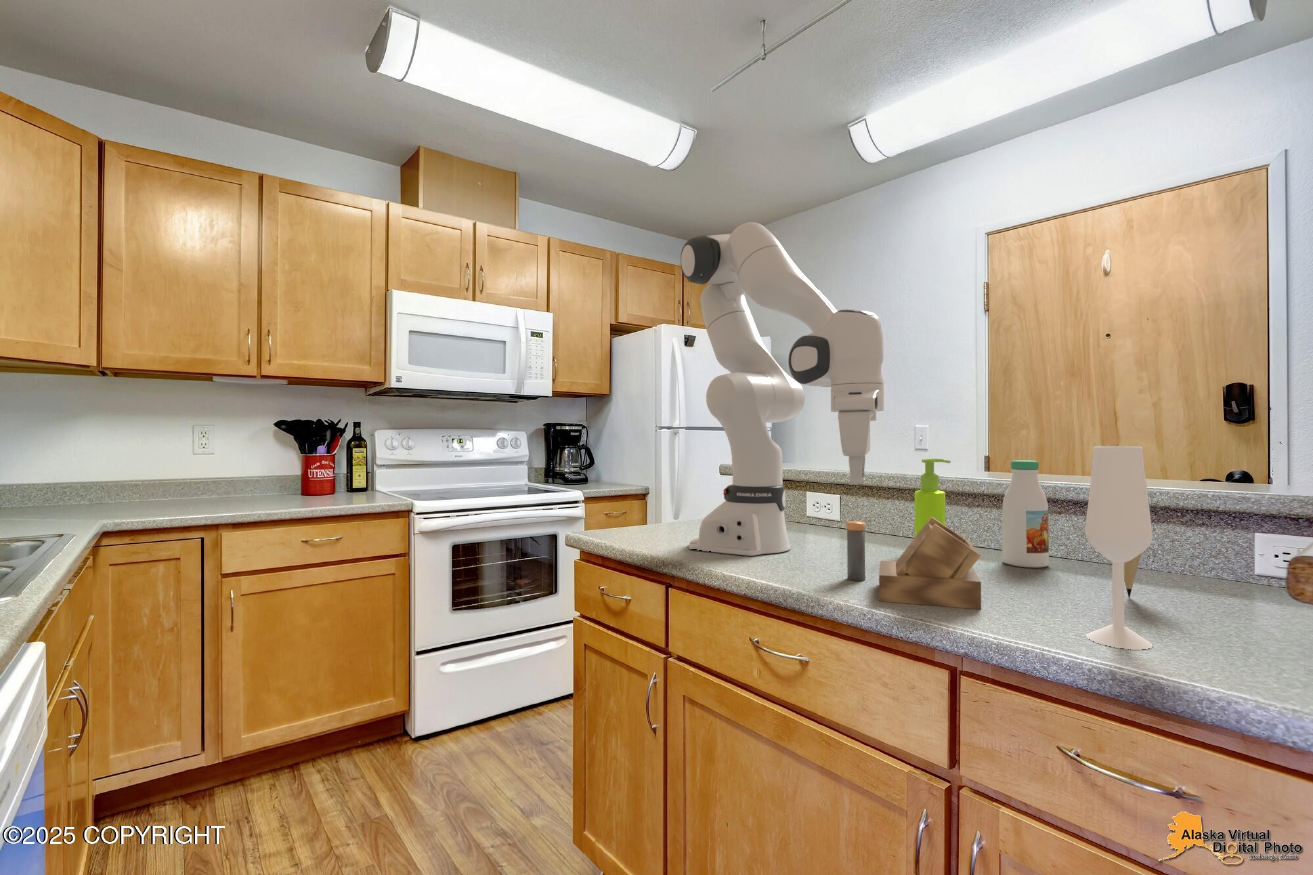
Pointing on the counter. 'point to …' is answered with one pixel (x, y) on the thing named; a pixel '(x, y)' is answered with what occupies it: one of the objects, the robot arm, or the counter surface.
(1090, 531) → the champagne flute
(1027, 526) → the milk bottle
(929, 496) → the soap dispenser
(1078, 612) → the counter surface
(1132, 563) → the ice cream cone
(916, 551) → the holder
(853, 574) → the grey orange cylinder
